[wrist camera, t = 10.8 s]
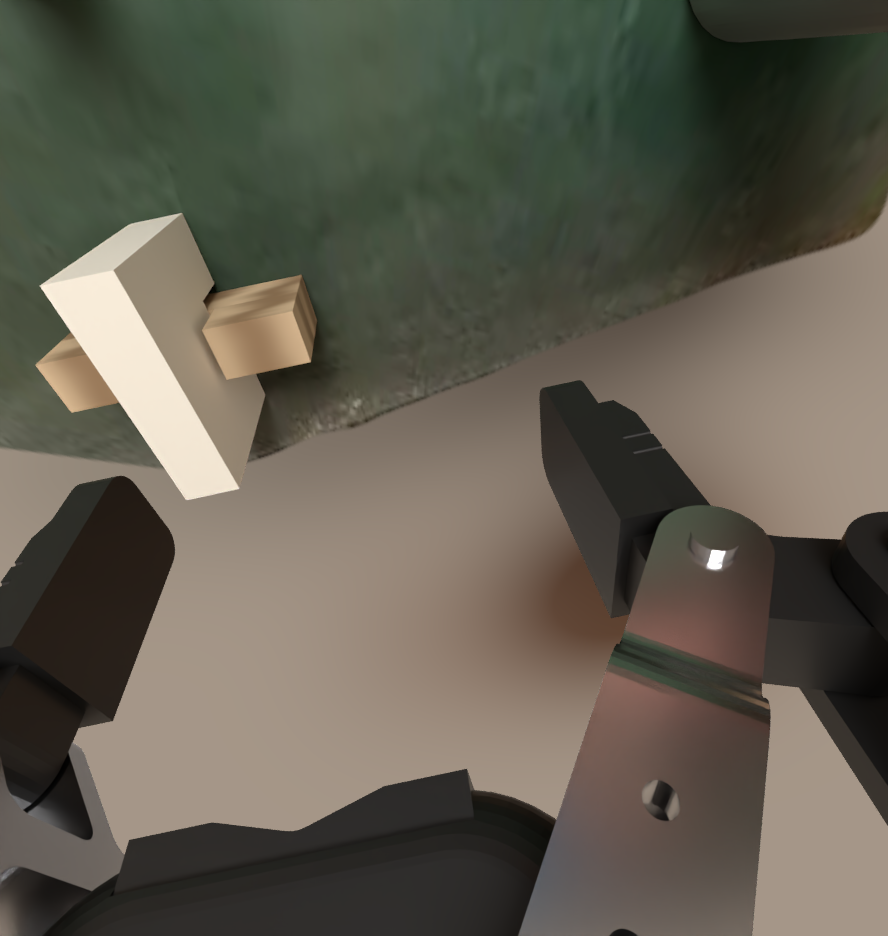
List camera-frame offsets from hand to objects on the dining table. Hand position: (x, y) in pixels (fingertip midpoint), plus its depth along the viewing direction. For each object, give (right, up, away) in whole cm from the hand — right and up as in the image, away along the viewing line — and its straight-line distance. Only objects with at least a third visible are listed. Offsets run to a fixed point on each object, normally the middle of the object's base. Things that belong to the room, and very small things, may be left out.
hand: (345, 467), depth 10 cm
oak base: (-16, +11, +27) cm, 33 cm away
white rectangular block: (-16, +11, +27) cm, 33 cm away
